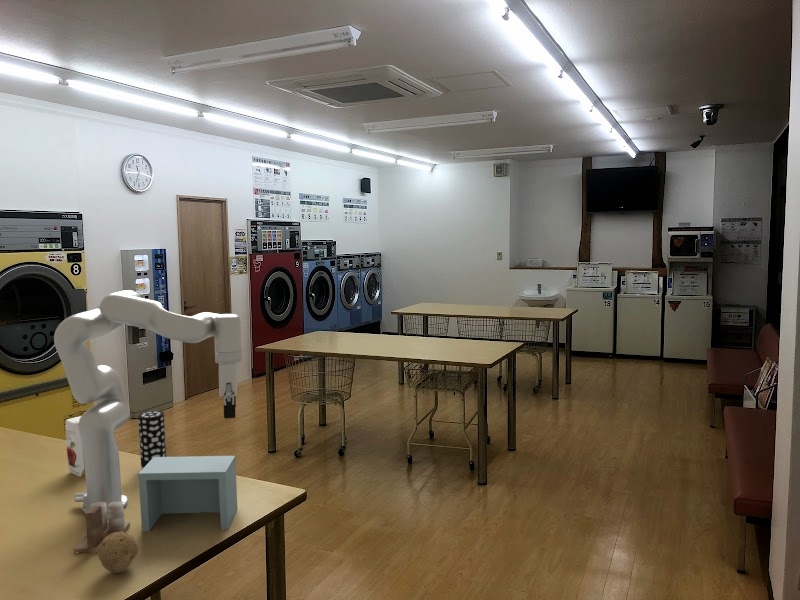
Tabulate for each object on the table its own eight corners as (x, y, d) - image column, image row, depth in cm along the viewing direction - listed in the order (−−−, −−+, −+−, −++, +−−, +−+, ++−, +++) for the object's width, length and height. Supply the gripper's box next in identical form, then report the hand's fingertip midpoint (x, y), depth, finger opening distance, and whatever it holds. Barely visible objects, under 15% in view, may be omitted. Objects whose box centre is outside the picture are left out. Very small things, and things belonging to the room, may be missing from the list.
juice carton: (87, 465, 223) (83, 414, 221) (100, 471, 218) (96, 418, 216) (66, 472, 217) (62, 419, 215) (78, 478, 212) (74, 424, 210)
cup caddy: (74, 553, 165) (71, 514, 163) (97, 527, 179) (95, 491, 177) (109, 553, 165) (106, 513, 164) (129, 527, 179) (127, 490, 178)
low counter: (141, 531, 176) (138, 473, 174) (156, 511, 188) (153, 457, 186) (227, 529, 177) (225, 471, 175) (237, 509, 189) (235, 455, 187)
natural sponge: (117, 558, 162) (115, 522, 161) (146, 563, 159) (144, 526, 158) (91, 577, 153) (88, 539, 152) (121, 583, 151) (118, 544, 150)
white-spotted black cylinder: (158, 475, 215) (154, 418, 212) (136, 473, 216) (132, 417, 214) (171, 465, 223) (168, 411, 220) (150, 464, 224) (147, 410, 222)
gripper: (216, 350, 191) (218, 405, 193) (213, 363, 174) (215, 423, 176) (241, 349, 193) (243, 403, 195) (241, 362, 176) (243, 421, 178)
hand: (230, 412), depth 186 cm, fingers open, 9 cm apart
